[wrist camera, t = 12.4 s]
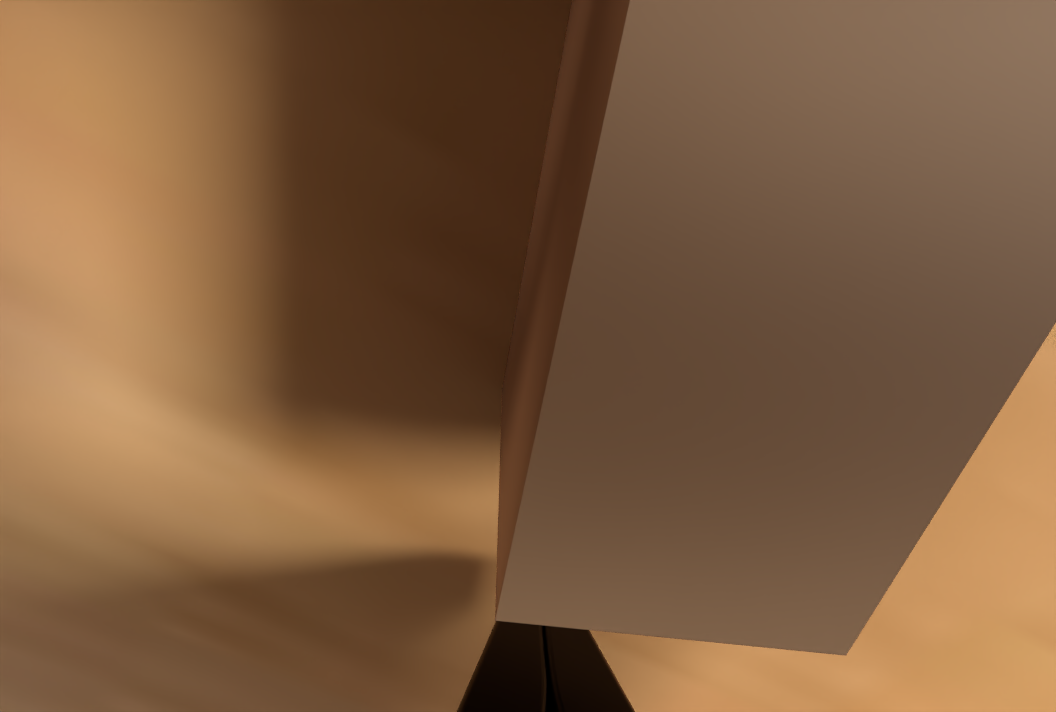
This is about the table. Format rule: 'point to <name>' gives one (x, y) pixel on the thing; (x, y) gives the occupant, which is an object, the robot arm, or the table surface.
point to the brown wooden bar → (769, 306)
